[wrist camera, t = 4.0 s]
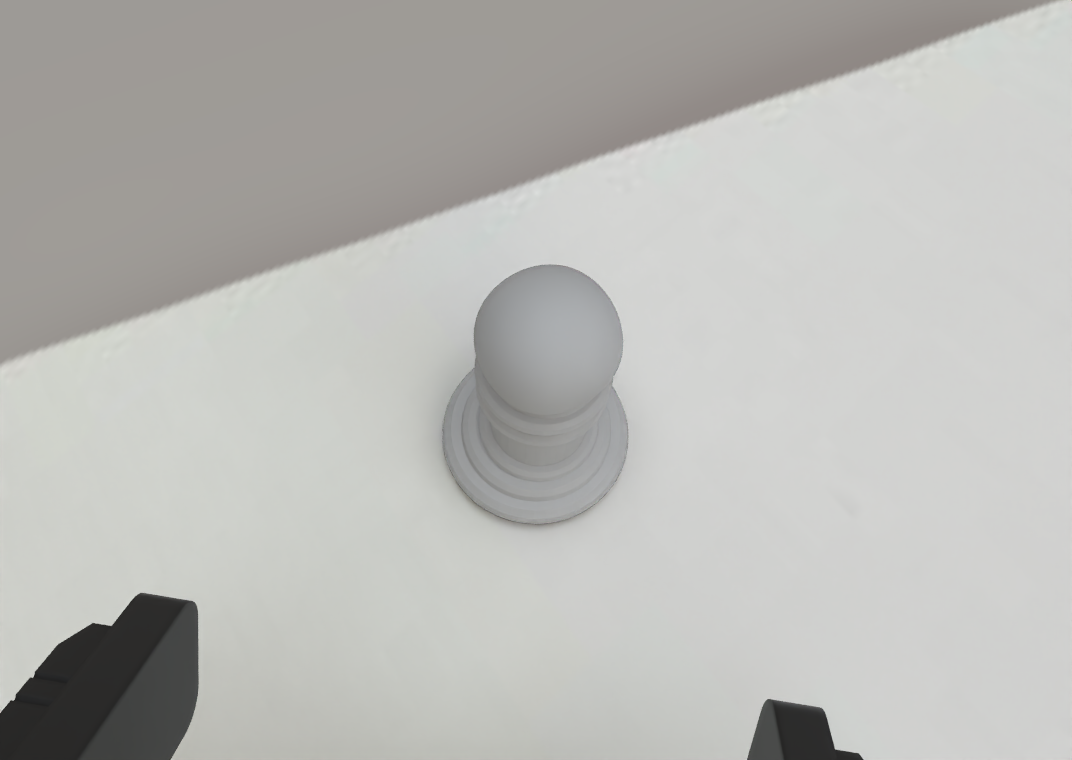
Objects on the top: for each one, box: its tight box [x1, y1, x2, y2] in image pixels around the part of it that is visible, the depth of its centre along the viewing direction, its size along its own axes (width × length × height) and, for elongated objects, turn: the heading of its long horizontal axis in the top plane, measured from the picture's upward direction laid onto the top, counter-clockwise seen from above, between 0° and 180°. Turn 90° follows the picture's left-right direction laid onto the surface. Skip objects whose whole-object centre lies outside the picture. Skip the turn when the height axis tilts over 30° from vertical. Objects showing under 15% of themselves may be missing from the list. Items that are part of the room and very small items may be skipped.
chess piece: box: [443, 265, 628, 524], centre depth 24 cm, size 5×5×9 cm
